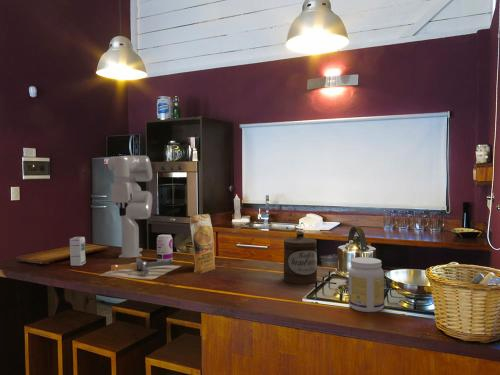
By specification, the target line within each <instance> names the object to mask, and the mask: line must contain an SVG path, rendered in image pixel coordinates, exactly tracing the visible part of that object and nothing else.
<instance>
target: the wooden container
mask: <svg viewBox="0 0 500 375" xmlns="http://www.w3.org/2000/svg"><path fill="white" fill-rule="evenodd" d="M295 234H296V236H295V237H288V238H284V240H283V281H284V282H286V283H288V284H294V285H309V284H313V283H316V282H318V281H317V280H318V257H317V256H318V249H317V239H315V238H312V237H305V233H304V232H303V231H302V230H301V231H300V230H299V231H297V232H296V233H295Z"/></svg>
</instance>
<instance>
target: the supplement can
mask: <svg viewBox="0 0 500 375" xmlns="http://www.w3.org/2000/svg"><path fill="white" fill-rule="evenodd" d="M173 258H174V256H173V237H172V234H159V235H157V237H156V259H157V260H156V262H158V261H169V260H170V261H171V263H172V262H173Z"/></svg>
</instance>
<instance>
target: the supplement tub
mask: <svg viewBox="0 0 500 375" xmlns="http://www.w3.org/2000/svg"><path fill="white" fill-rule="evenodd" d="M350 265H351V266H350V267H349V269H348V306H349V307H350V306H351V307H352V308H351V307H350V308H351V309H353V310H354V311H357V312H363V313H376V312H380V311H382V310H383V309H384V308H385V272H384V270H383V268H382V266H383V264H382V260H381V259H378V258H374V257H366V256H365V257H363V256H360V257H352V258H351V259H350ZM382 308H383V309H382ZM381 309H382V310H381ZM379 310H380V311H379Z"/></svg>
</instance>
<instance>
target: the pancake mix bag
mask: <svg viewBox="0 0 500 375" xmlns="http://www.w3.org/2000/svg"><path fill="white" fill-rule="evenodd" d="M189 229H190V240H191V243H192V244H191V245H192V247H193V249H192V250H193V273H196V272H198V273H197V274H198V275H200V274H204V273H208V272H210V271H213V270H215V269H216V264H215V260H216V259H215V239H214V230H213V225H212V219H211V215H210V213H204V214H194V215H191V216H190V217H189Z"/></svg>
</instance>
